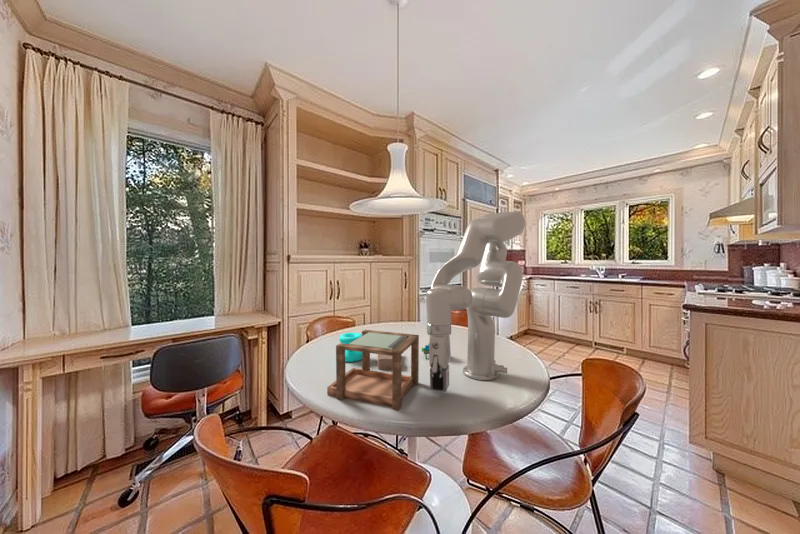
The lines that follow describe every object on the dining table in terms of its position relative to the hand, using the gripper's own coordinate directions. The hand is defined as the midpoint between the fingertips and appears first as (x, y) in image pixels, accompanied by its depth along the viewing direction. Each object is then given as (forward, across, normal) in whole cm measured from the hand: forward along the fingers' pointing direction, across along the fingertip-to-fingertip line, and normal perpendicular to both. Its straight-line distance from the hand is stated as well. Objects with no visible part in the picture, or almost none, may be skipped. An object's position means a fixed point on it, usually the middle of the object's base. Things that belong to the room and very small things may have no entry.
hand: (439, 384), depth 99 cm
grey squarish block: (+1, 0, 0) cm, 1 cm away
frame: (+3, -4, +21) cm, 22 cm away
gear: (+4, +32, +10) cm, 34 cm away
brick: (+4, +21, +26) cm, 33 cm away
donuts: (+3, +19, +42) cm, 46 cm away
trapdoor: (-13, -4, +19) cm, 23 cm away
